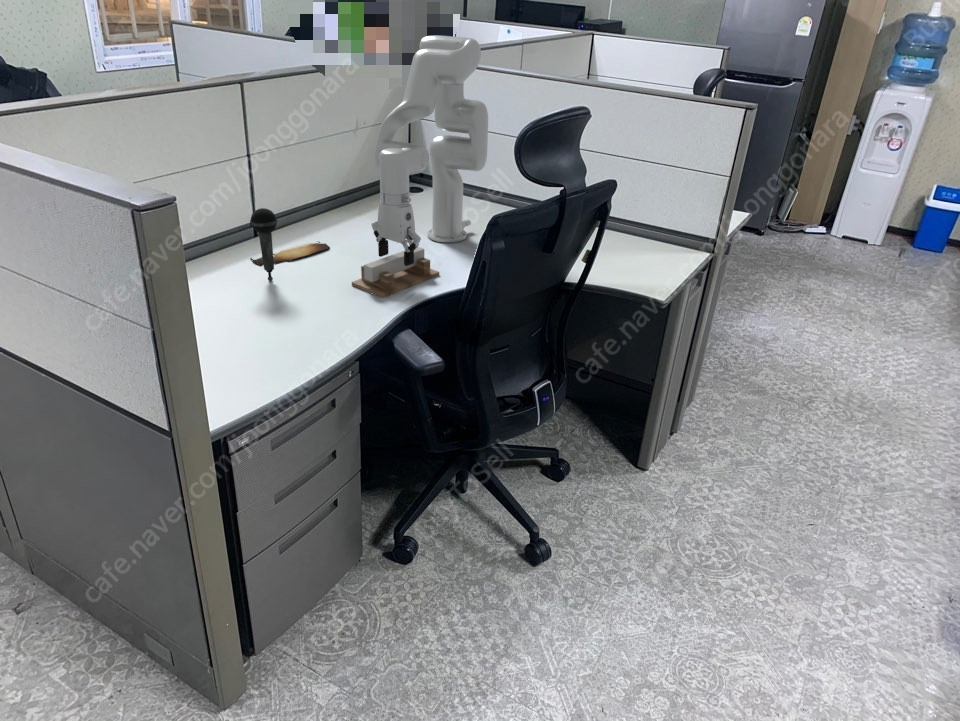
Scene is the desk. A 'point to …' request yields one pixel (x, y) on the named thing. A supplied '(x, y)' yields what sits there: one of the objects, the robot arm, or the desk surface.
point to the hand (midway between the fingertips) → (396, 259)
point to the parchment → (294, 253)
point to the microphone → (265, 236)
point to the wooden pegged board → (397, 279)
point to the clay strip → (390, 264)
